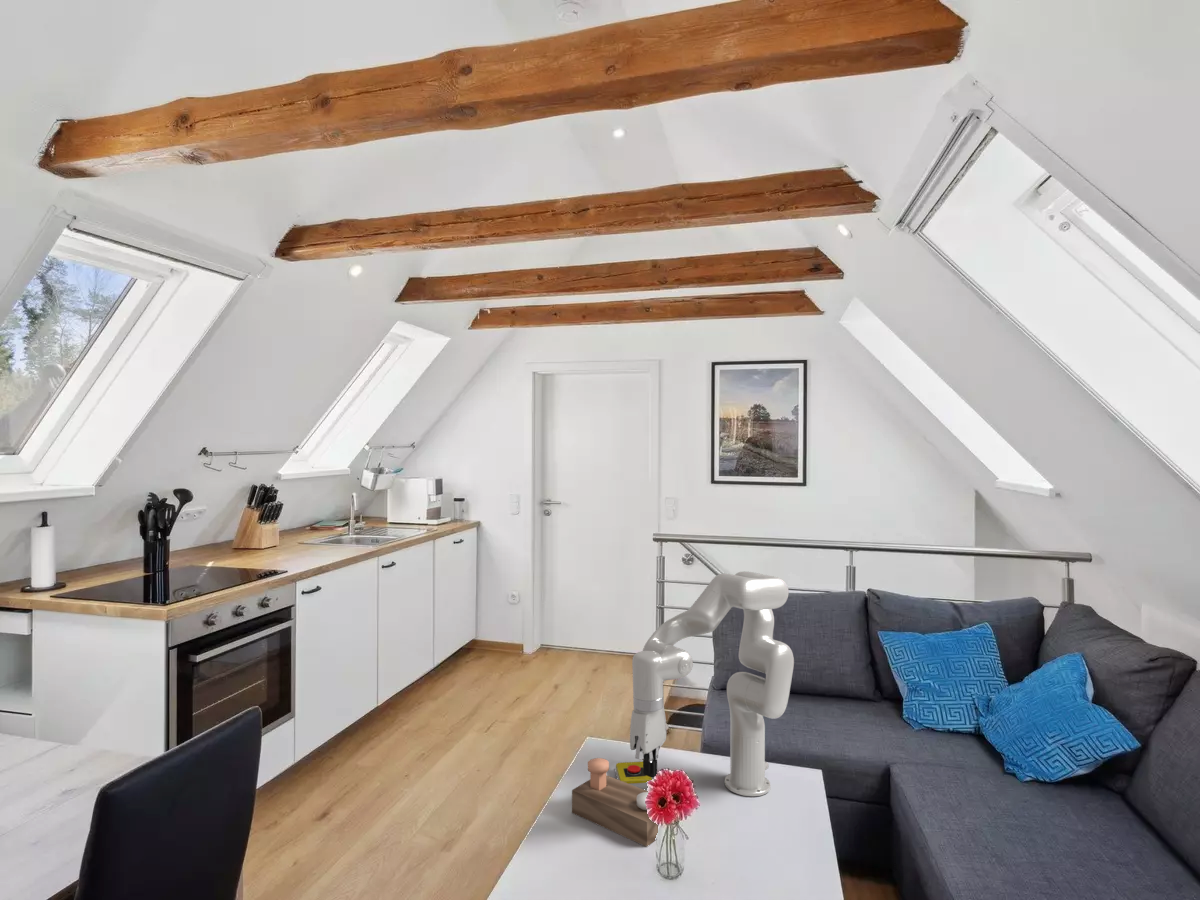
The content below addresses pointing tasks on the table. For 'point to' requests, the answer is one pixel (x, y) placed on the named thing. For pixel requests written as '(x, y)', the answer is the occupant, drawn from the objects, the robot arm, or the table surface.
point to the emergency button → (632, 774)
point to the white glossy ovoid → (642, 800)
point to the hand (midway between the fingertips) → (650, 774)
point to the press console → (615, 809)
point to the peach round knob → (598, 772)
